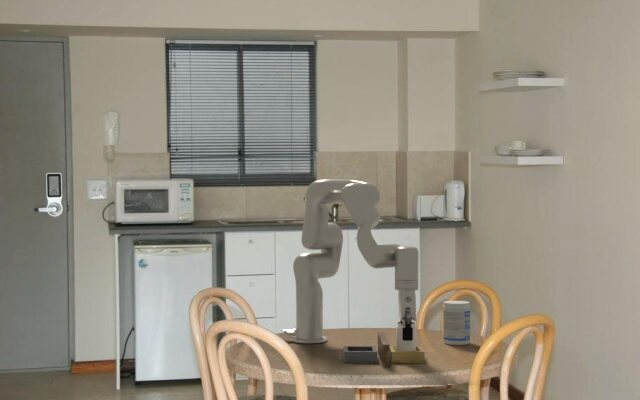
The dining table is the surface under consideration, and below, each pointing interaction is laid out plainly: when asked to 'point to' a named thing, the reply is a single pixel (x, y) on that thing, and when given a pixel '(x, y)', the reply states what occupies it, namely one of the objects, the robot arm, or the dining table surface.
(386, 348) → the brown wooden plank
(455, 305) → the supplement tub
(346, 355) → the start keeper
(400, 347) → the can
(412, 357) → the brass keeper
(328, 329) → the dining table surface
